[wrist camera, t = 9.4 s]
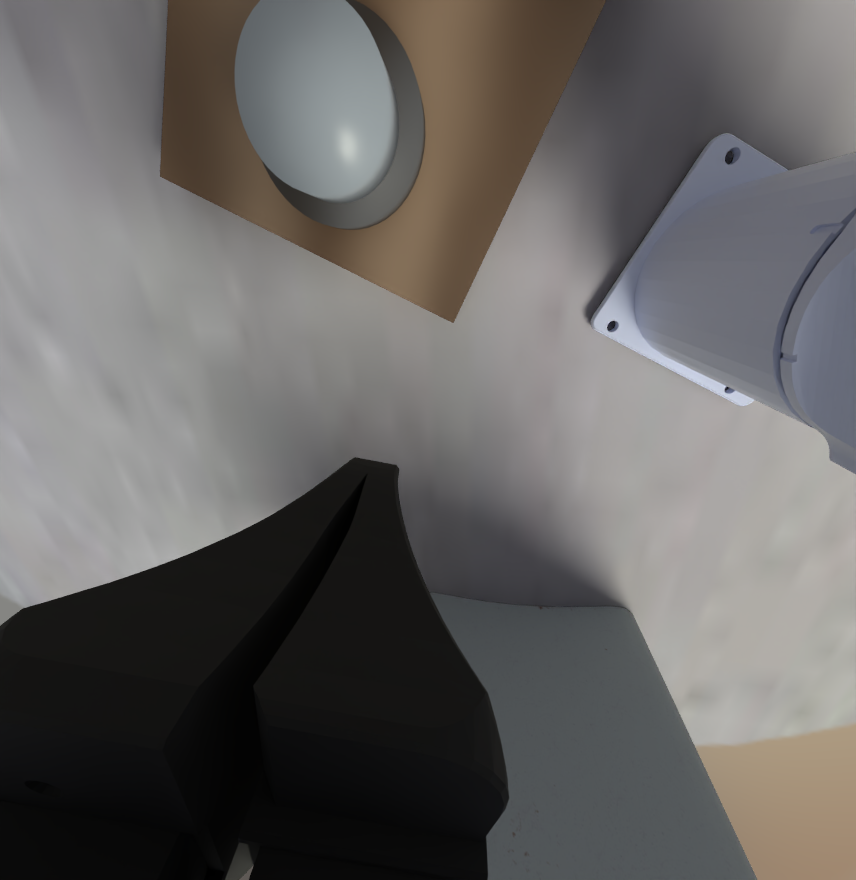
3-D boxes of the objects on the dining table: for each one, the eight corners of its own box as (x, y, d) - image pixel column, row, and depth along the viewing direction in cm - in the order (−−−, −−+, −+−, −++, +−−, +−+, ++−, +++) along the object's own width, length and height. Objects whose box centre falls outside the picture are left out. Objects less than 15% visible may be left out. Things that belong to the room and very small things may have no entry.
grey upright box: (412, 626, 30) (255, 1691, 8) (410, 590, 27) (183, 1926, 5) (623, 645, 28) (1203, 2073, 6) (638, 608, 26) (1635, 2626, 4)
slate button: (421, 72, 11) (412, 38, 10) (372, 226, 14) (358, 221, 12) (284, -7, 11) (249, -59, 9) (256, 166, 13) (224, 152, 11)
